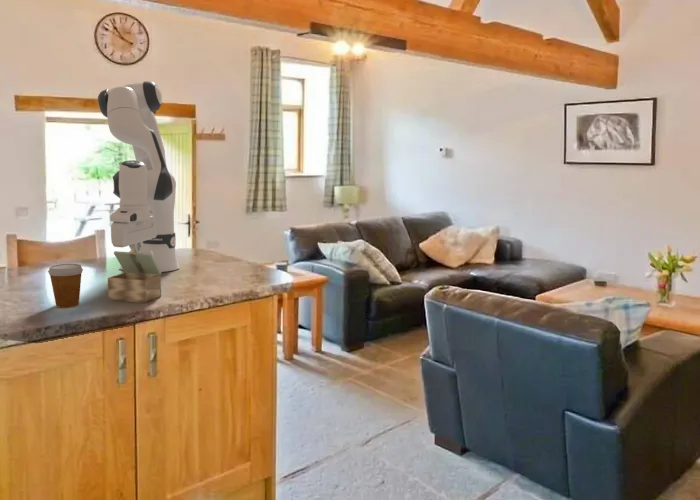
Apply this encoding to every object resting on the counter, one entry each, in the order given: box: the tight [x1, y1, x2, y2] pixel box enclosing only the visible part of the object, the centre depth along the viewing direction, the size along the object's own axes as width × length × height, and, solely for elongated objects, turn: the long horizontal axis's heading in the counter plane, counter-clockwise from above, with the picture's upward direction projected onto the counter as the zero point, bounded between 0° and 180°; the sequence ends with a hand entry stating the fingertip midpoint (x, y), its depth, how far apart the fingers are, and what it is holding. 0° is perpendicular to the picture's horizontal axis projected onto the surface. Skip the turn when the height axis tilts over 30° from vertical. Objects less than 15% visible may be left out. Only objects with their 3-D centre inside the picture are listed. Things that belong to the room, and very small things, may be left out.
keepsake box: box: [107, 271, 162, 304], centre depth 196 cm, size 13×9×7 cm
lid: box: [113, 250, 162, 276], centre depth 197 cm, size 13×9×1 cm
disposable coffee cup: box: [47, 263, 84, 309], centre depth 185 cm, size 10×10×12 cm
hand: (136, 256), depth 197 cm, fingers closed
